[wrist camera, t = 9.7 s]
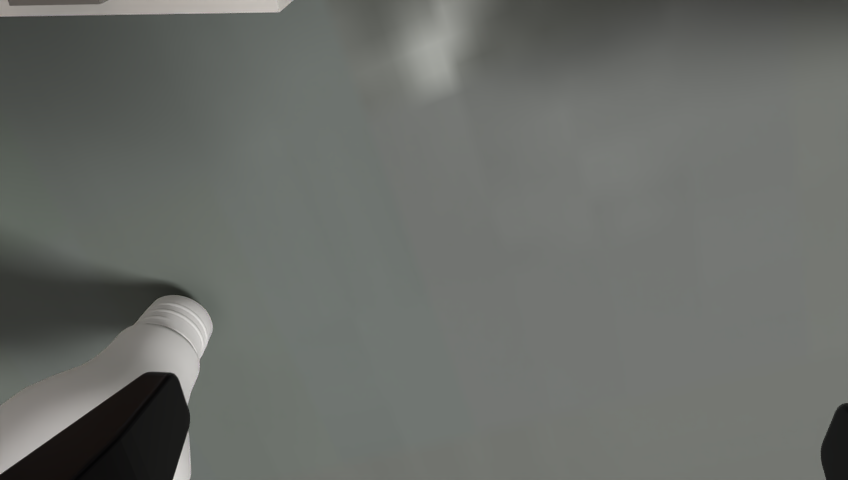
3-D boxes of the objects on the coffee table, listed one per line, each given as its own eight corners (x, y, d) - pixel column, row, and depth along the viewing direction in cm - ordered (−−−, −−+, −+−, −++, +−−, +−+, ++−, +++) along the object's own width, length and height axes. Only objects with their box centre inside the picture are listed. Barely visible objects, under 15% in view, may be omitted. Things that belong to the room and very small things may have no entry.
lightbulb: (87, 248, 25) (-155, 499, 16) (239, 237, 24) (73, 498, 15) (146, 368, 28) (-27, 635, 19) (282, 362, 27) (168, 641, 18)
